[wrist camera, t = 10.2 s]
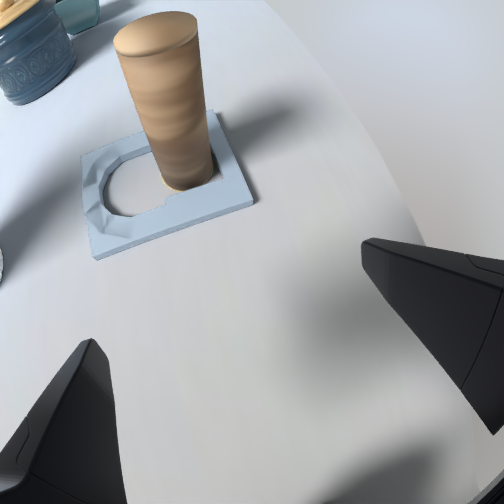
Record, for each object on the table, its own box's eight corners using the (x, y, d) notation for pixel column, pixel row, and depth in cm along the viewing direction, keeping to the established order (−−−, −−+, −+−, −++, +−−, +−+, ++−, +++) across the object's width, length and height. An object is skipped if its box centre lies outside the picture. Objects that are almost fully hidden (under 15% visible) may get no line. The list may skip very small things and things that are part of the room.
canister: (81, 42, 33) (54, -37, 17) (74, 82, 30) (31, -16, 13) (19, 74, 32) (-18, 6, 15) (3, 120, 28) (-51, 43, 11)
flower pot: (105, 10, 37) (95, -23, 29) (107, 24, 35) (96, -14, 27) (65, 28, 36) (52, -4, 27) (62, 44, 34) (47, 8, 25)
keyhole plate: (95, 261, 23) (90, 257, 22) (83, 162, 26) (79, 157, 25) (252, 205, 25) (253, 199, 24) (213, 115, 28) (213, 109, 27)
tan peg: (184, 200, 24) (140, 59, 11) (152, 171, 25) (100, 39, 12) (223, 167, 26) (214, 22, 12) (189, 141, 26) (165, 6, 13)
